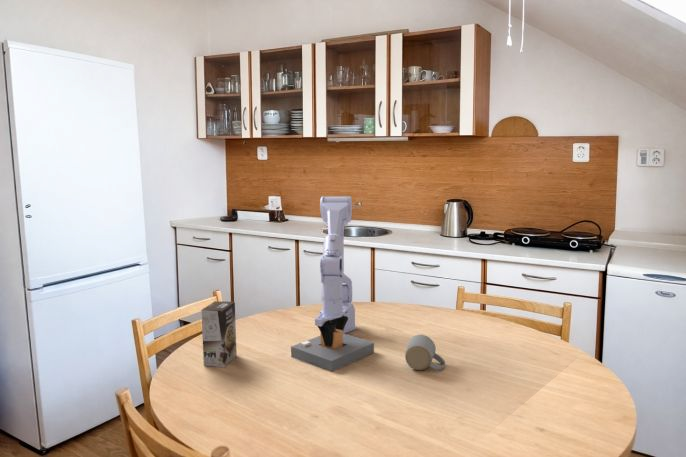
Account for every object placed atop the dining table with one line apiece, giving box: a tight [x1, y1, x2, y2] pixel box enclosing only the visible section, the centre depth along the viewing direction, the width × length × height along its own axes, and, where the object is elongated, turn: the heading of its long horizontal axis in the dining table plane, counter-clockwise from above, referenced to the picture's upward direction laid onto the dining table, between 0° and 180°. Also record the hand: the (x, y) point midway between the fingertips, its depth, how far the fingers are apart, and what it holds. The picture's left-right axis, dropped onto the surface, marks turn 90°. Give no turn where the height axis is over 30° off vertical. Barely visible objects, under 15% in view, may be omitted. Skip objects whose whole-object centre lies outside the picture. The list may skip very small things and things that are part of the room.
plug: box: [320, 327, 343, 350], centre depth 154 cm, size 4×5×7 cm
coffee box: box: [201, 300, 238, 368], centre depth 150 cm, size 9×6×16 cm
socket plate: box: [290, 333, 375, 372], centre depth 154 cm, size 18×16×4 cm
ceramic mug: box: [405, 334, 446, 371], centre depth 145 cm, size 11×8×8 cm
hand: (332, 343), depth 154 cm, fingers closed on plug, 4 cm apart
